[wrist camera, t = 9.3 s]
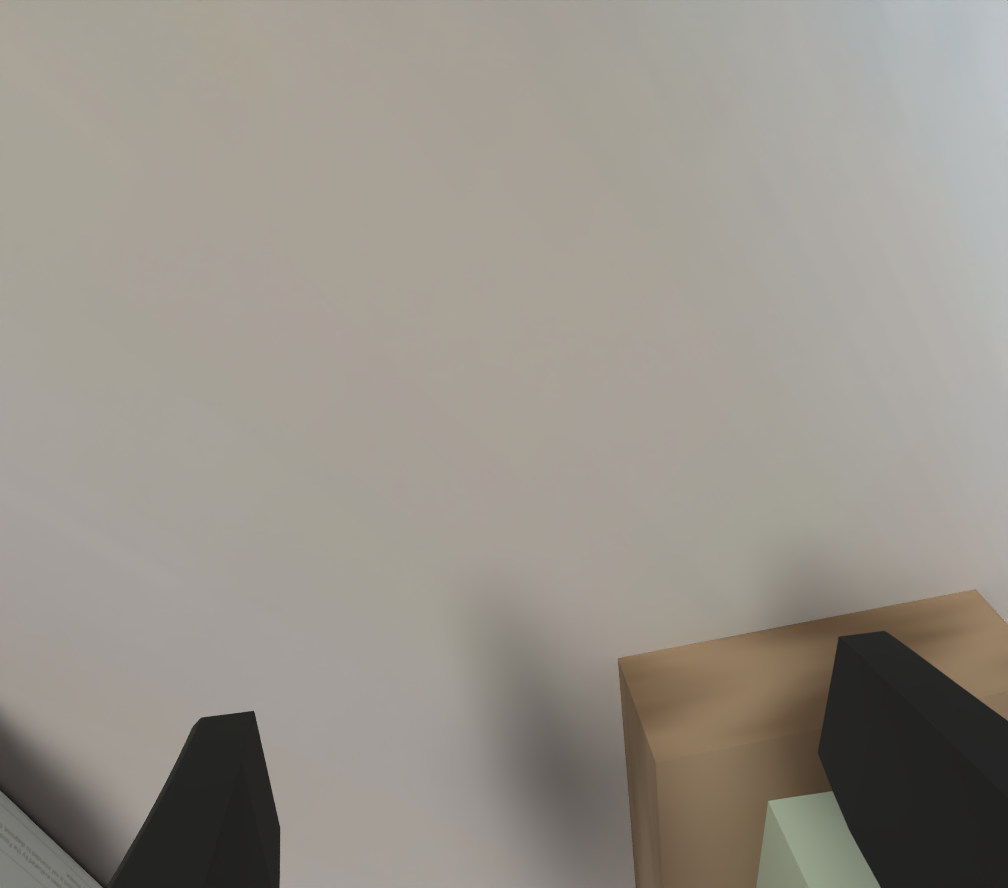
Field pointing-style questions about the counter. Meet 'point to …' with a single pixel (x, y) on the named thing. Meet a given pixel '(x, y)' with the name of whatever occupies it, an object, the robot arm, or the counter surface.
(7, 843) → the supplement box
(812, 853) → the sage cube
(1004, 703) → the walnut block
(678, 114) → the counter surface
